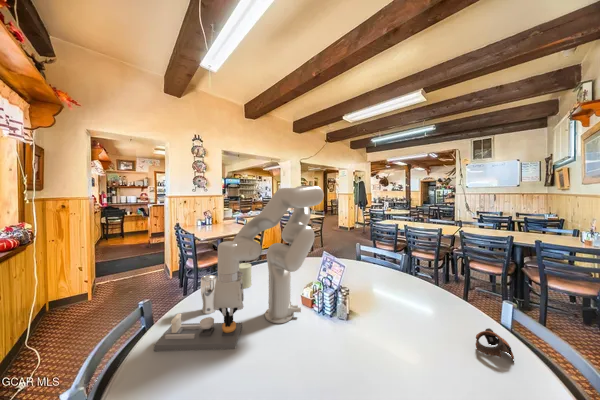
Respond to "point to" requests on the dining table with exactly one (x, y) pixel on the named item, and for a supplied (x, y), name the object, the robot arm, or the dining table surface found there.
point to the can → (245, 274)
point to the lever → (176, 324)
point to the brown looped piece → (493, 341)
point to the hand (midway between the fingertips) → (228, 324)
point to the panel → (198, 338)
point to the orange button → (229, 329)
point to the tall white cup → (208, 293)
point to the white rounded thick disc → (206, 323)
